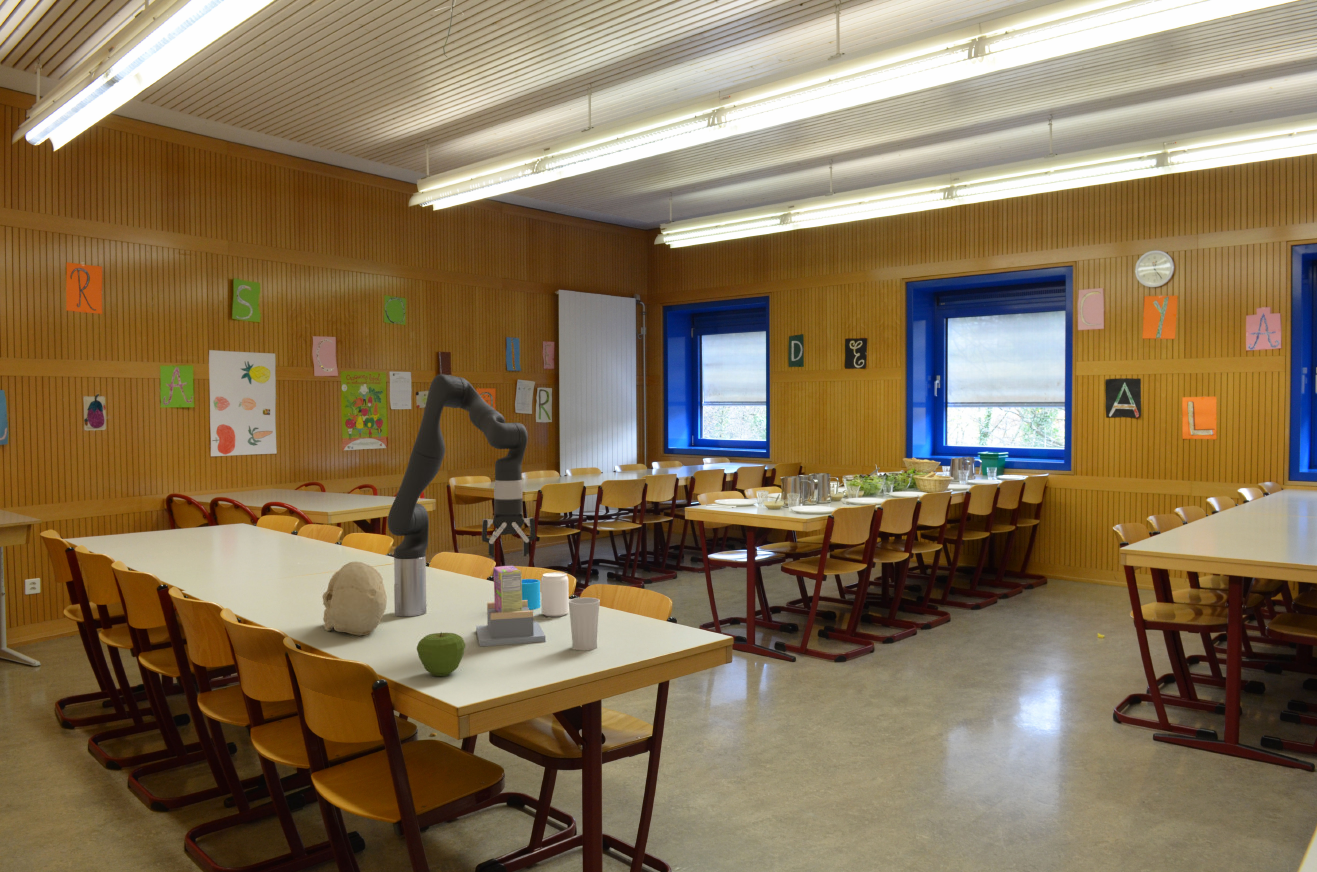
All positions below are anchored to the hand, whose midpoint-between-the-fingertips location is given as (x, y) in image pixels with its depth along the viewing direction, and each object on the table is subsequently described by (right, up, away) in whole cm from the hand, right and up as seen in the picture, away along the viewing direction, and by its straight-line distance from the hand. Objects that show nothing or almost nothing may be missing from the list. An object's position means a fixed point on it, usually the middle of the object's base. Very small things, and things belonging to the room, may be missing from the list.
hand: (508, 556), depth 238 cm
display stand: (0, -22, +1) cm, 22 cm away
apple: (-10, -23, -34) cm, 42 cm away
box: (0, -15, +1) cm, 15 cm away
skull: (-45, -22, +9) cm, 51 cm away
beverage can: (+9, -21, +27) cm, 35 cm away
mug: (-2, -21, +38) cm, 44 cm away
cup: (+21, -22, -11) cm, 33 cm away
